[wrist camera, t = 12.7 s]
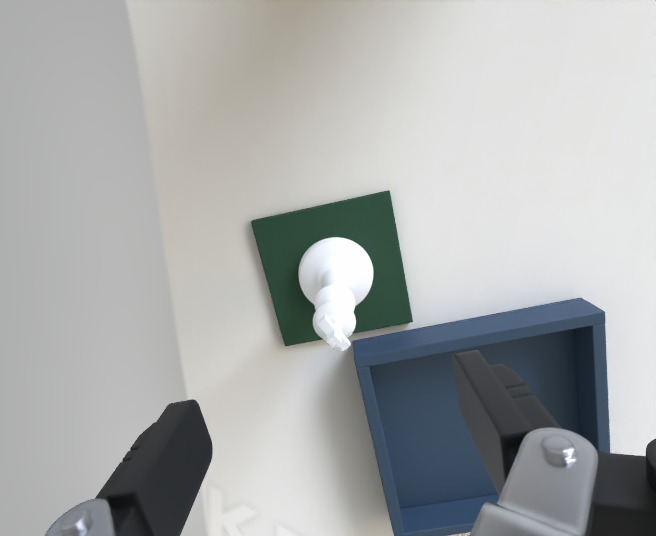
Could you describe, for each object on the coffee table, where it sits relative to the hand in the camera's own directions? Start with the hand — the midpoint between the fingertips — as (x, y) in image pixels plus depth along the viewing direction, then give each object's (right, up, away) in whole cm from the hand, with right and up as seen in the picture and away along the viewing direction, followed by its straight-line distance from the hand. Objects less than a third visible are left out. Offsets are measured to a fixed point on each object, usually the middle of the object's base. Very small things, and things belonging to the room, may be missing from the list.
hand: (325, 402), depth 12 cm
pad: (+1, +4, +14) cm, 15 cm away
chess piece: (+1, +4, +14) cm, 15 cm away
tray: (+11, -7, +17) cm, 21 cm away
